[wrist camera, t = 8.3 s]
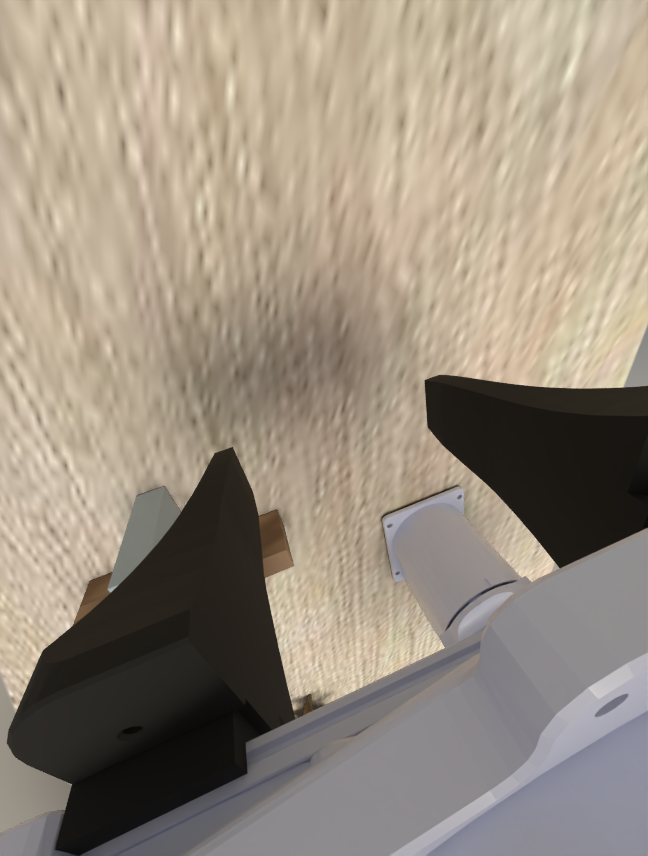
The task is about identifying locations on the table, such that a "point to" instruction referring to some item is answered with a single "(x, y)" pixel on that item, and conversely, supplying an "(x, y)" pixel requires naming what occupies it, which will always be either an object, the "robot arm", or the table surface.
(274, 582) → the table surface
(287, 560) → the walnut rail
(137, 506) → the pale blue prism block
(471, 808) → the robot arm
